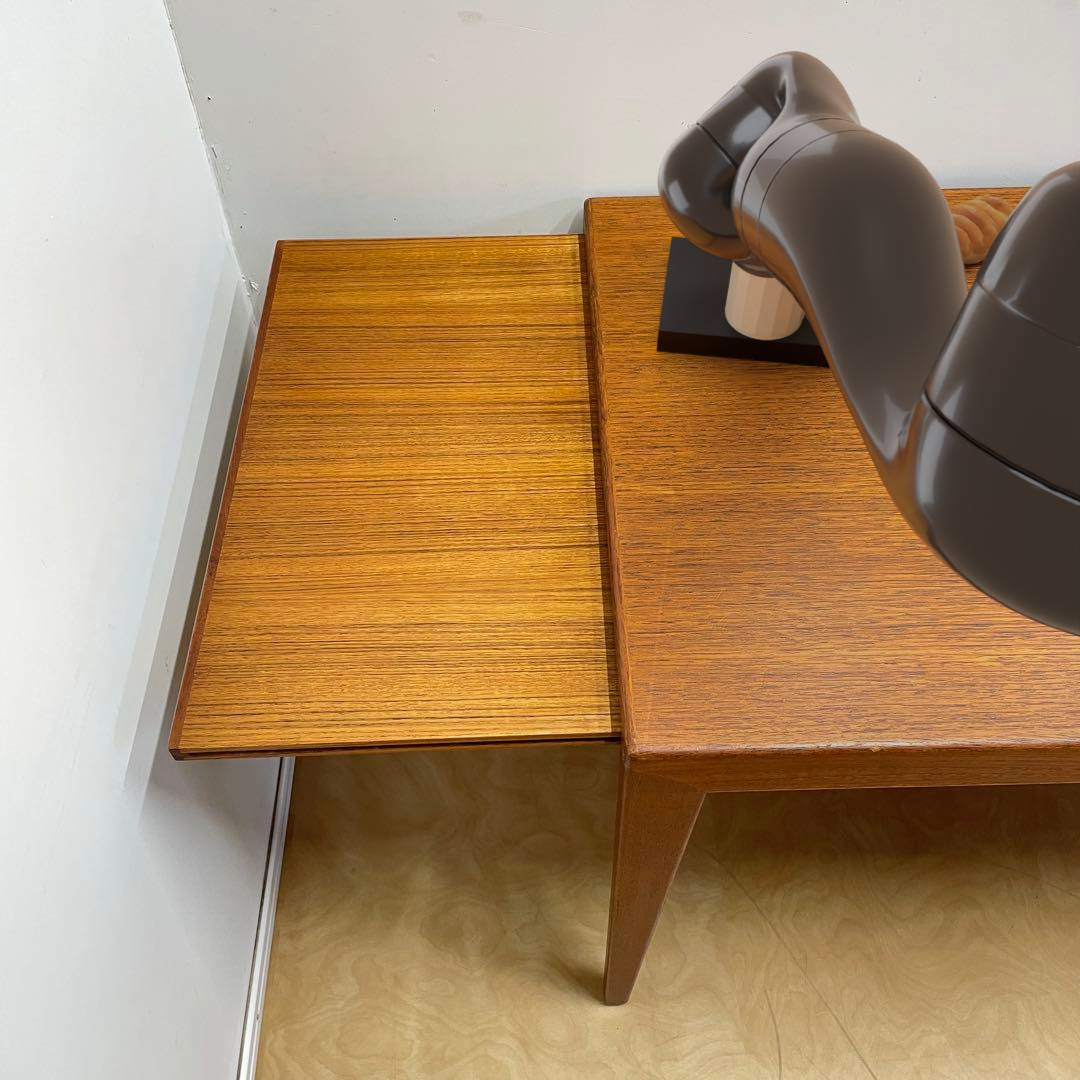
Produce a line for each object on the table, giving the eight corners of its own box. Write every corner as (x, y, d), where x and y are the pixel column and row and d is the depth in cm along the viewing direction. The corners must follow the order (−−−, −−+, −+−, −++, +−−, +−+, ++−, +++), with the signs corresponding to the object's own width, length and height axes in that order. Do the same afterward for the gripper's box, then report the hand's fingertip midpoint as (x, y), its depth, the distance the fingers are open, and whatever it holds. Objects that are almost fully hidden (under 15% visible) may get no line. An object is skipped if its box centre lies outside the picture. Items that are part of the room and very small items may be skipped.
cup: (803, 291, 89) (826, 194, 80) (802, 343, 85) (826, 248, 77) (726, 284, 89) (742, 188, 81) (722, 336, 85) (738, 240, 77)
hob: (863, 268, 94) (870, 245, 92) (866, 371, 86) (874, 348, 84) (670, 252, 96) (672, 229, 94) (656, 351, 88) (658, 328, 86)
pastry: (948, 284, 92) (961, 250, 89) (897, 245, 96) (908, 212, 93) (1020, 248, 95) (1035, 214, 92) (967, 212, 98) (980, 178, 95)
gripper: (656, 248, 70) (686, 276, 85) (860, 291, 67) (852, 312, 82) (684, 138, 68) (709, 187, 84) (893, 177, 65) (879, 220, 81)
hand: (780, 249), depth 83 cm, fingers open, 8 cm apart
